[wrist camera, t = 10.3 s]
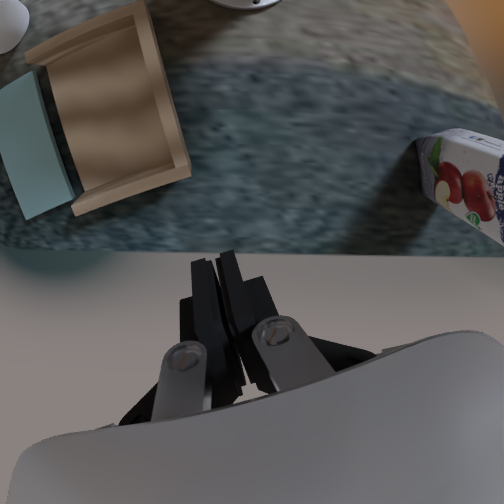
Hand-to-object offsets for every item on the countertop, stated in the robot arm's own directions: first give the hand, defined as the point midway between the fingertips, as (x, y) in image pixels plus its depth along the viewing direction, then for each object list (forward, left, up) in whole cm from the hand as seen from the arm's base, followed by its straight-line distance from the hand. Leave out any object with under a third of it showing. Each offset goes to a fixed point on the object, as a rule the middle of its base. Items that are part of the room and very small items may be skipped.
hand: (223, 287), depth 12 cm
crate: (-9, -7, -25) cm, 28 cm away
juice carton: (+7, +32, -25) cm, 41 cm away
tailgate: (-9, -15, -25) cm, 30 cm away
